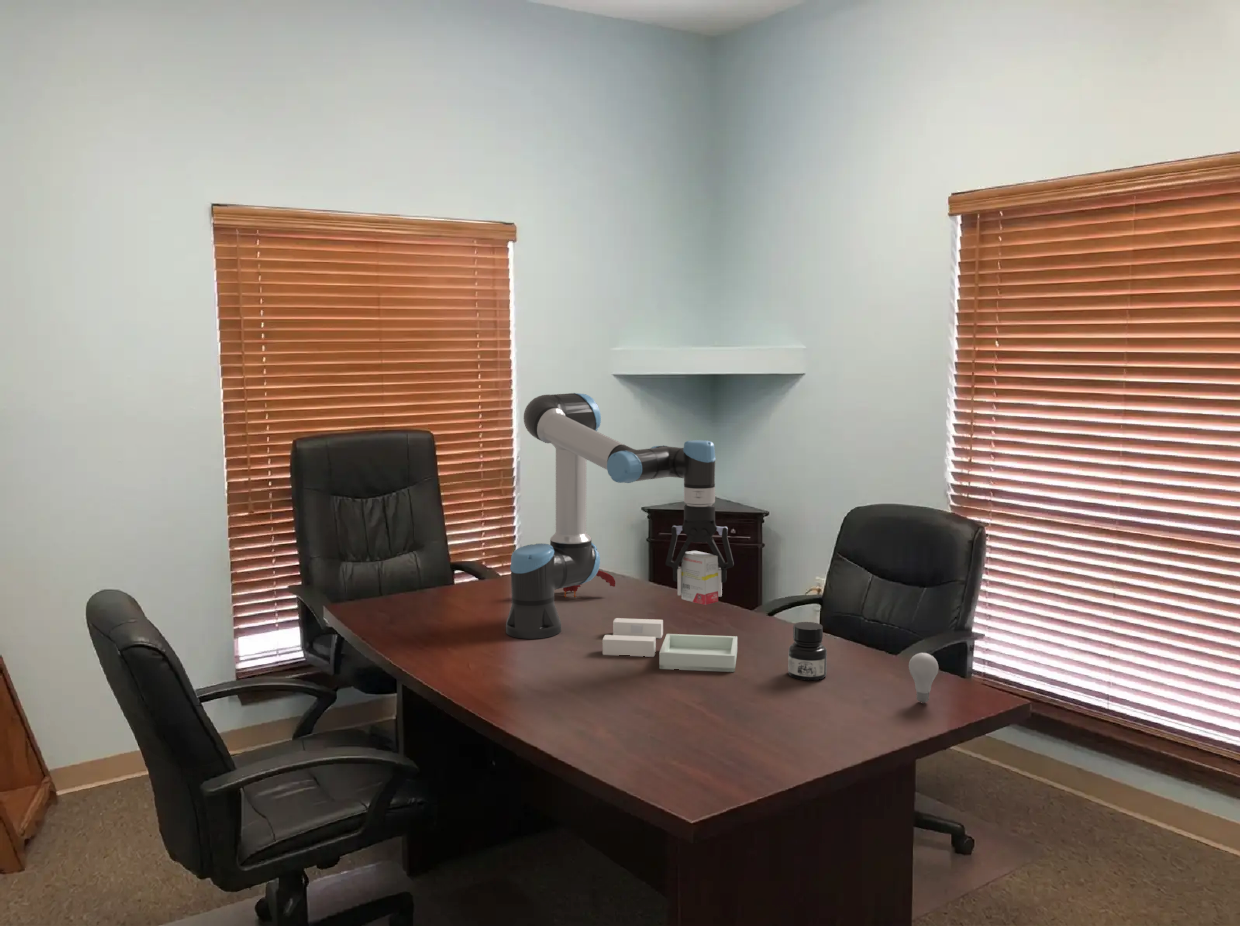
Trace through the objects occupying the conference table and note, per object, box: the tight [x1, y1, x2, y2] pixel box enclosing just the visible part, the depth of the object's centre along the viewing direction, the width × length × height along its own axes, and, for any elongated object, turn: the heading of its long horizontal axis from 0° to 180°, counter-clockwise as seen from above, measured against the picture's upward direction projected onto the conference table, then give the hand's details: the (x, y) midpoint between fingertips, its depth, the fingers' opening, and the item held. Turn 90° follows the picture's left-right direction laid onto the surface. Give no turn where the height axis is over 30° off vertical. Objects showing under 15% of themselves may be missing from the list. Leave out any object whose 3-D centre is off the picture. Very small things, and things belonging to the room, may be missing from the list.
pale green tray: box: [658, 633, 738, 673], centre depth 239 cm, size 18×16×4 cm
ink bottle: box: [787, 621, 828, 681], centre depth 227 cm, size 10×9×12 cm
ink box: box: [680, 550, 719, 606], centre depth 237 cm, size 9×5×12 cm, turn 39°
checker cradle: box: [602, 617, 664, 658], centre depth 253 cm, size 13×20×4 cm, turn 171°
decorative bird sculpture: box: [562, 570, 616, 598], centre depth 303 cm, size 28×9×15 cm
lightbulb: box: [908, 652, 940, 704], centre depth 208 cm, size 6×6×11 cm
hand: (699, 594), depth 238 cm, fingers closed on ink box, 9 cm apart
